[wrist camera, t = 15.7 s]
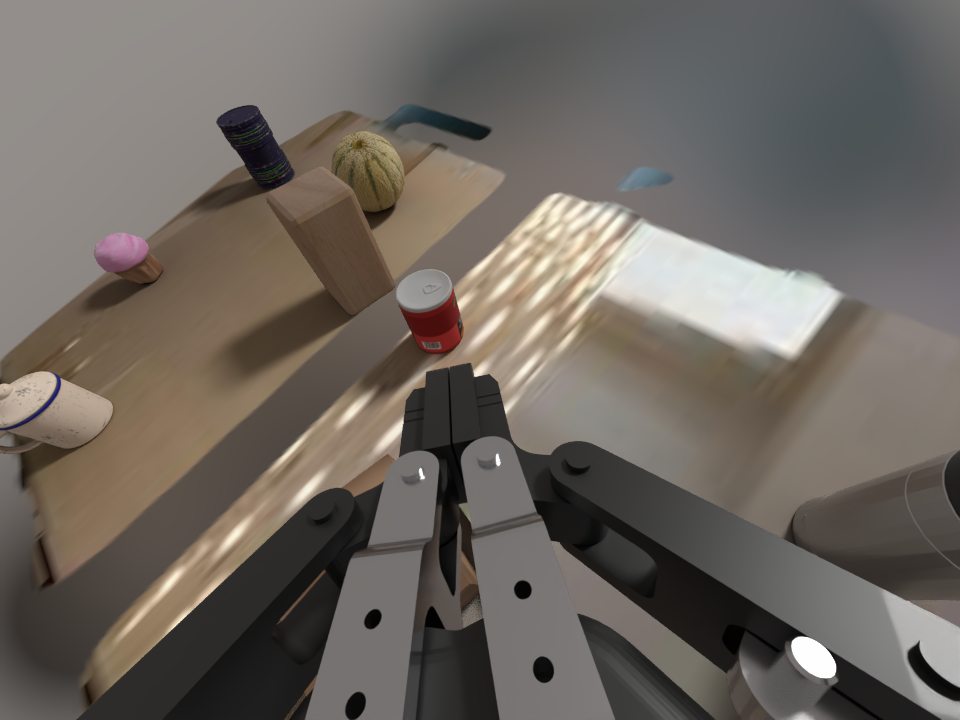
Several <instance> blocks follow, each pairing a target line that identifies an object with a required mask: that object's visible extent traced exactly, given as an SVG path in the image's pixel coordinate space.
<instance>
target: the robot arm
mask: <svg viewBox="0 0 960 720" xmlns="http://www.w3.org/2000/svg"><path fill="white" fill-rule="evenodd" d="M463 503H468V507H469V513H470V519H471V525H472V533H471V542H472V549H473V555H474V561H475V567H476V574H477V580H478V586H479V593H480V599H481V605H482V611H483V619H481V620H479V621H477V622H475V623H473V624H471V625H469V626H467V627H465V628H463V620H462V615H461V607H460V580H461V536H462V531H461V525H460V512H459V504H463ZM793 534H794V540H795V542H796V545H797V546H796V545H794V544H792V543H790V542H788V541H786V540H784V539H782V538H780V537H778V536H776V535H774V534H772V533H770V532H768V531H766V530H764V529H762V528H760V527H758V526H756V525H754V524H752V523H750V522H748V521H746V520H744V519H742V518H740V517H738V516H736V515H734V514H732V513H730V512H728V511H726V510H724V509H722V508H720V507H718V506H716V505H714V504H712V503H710V502H708V501H706V500H704V499H702V498H700V497H698V496H696V495H694V494H692V493H690V492H688V491H686V490H684V489H682V488H680V487H678V486H676V485H674V484H672V483H670V482H668V481H666V480H664V479H662V478H660V477H658V476H656V475H654V474H652V473H650V472H648V471H646V470H644V469H642V468H640V467H638V466H636V465H634V464H632V463H630V462H628V461H626V460H624V459H622V458H620V457H618V456H616V455H614V454H612V453H610V452H608V451H606V450H604V449H602V448H600V447H598V446H596V445H593V444H591V443H588V442H582V441H574V442H568V443H565V444H562V445H560V446H559V447H557V448H556V449H555V450H554V451H553V452H552V454H551V455H540V454H533V453H529V452H526V451H524V450H522V449H520V448H519V447H518V446H516V444H515V443H514V442H513V440H512V438H511V435H510V431H509V427H508V423H507V419H506V414H505V410H504V406H503V402H502V398H501V394H500V389H499V385H498V382H497V381H496V380H495V379H494V378H493V377H492V376H491V375H490V374H488V375H483V376H478V377H474V373H473V369H472V365H471V363H467V364H462V365H457V366H452V367H450V370H449V368H443V369H438V370H433V371H428V372H426V385H425V387H424V388H419V389H414V390H413V391H412V393H411V394H410V396H409V397H408V399H407V400H406V406H405V414H404V424H403V430H402V438H401V446H400V454H399V458H398V459H397V460H395V461H394V462H393V463H392V464H391V466H390V467H389V469H388V470H387V473H386V476H385V480H384V481H383V482H382V483H381V484H379V485H377V486H376V487H374V488H372V489H370V490H367V491H365V492H363V493H361V494H359V495H357V496H355V497H354V496H353V495H352V493H351V492H350V491H348V490H346V489H343V488H333V489H329V490H326V491H324V492H321V493H320V494H318V495H316V496H315V497H313V498H312V499H311V500H310V501H308V502H307V503H306V504H305V505H304V506H303V507H302V508H301V509H300V510H299V511H298V512H297V513H296V514H295V515H294V516H292V517H291V518H290V519H289V520H288V521H287V522H286V523H285V524H284V525H283V526H282V527H281V528H280V529H279V530H278V531H277V532H275V533H274V534H273V535H272V536H271V537H270V538H269V539H268V540H267V541H266V542H265V543H264V544H263V545H262V546H261V547H259V548H258V549H257V550H256V551H255V552H254V553H253V554H252V555H251V556H250V557H249V558H248V559H247V560H246V561H245V562H244V563H242V564H241V565H240V566H239V567H238V568H237V569H236V570H235V571H234V572H233V573H232V574H231V575H230V576H229V577H228V578H227V579H225V580H224V581H223V582H222V583H221V584H220V585H219V586H218V587H217V588H216V589H215V590H214V591H213V592H212V593H211V594H210V595H208V596H207V597H206V598H205V599H204V600H203V601H202V602H201V603H200V604H199V605H198V606H197V607H196V608H195V609H194V610H193V611H191V612H190V613H189V614H188V615H187V616H186V617H185V618H184V619H183V620H182V621H181V622H180V623H179V624H178V625H177V626H176V627H174V628H173V629H172V630H171V631H170V632H169V633H168V634H167V635H166V636H165V637H164V638H163V639H162V640H161V641H160V642H159V643H157V644H156V645H155V646H154V647H153V648H152V649H151V650H150V651H149V652H148V653H147V654H146V655H145V656H144V657H143V658H142V659H140V660H139V661H138V662H137V663H136V664H135V665H134V666H133V667H132V668H131V669H130V670H129V671H128V672H127V673H126V674H124V675H123V676H122V677H121V678H120V679H119V680H118V681H117V682H116V683H115V684H114V685H113V686H112V687H111V688H110V689H109V690H107V691H106V692H105V693H104V694H103V695H102V696H101V697H100V698H99V699H98V700H97V701H96V702H95V703H94V704H93V705H92V706H90V707H89V708H88V709H87V710H86V711H85V712H84V713H83V714H82V715H81V716H80V717H79V718H78V719H77V720H284V718H285V717H286V716H287V714H288V713H289V712H290V710H291V709H292V708H293V706H294V705H295V704H296V702H297V701H298V700H299V698H300V697H301V696H302V694H303V693H304V692H305V690H306V689H307V688H308V686H309V685H310V684H311V682H312V681H313V680H314V678H315V677H316V675H317V674H318V675H317V679H316V682H315V686H314V688H313V689H312V690H311V692H310V693H309V694H308V695H307V696H306V697H305V699H304V700H303V701H302V703H301V704H300V705H299V707H298V708H297V710H296V711H295V712H294V714H293V715H292V717H291V718H290V720H715V719H714V718H713V717H712V716H711V715H710V714H709V713H708V712H706V711H705V710H704V709H703V708H702V707H701V706H700V705H699V704H698V703H696V702H695V701H694V700H693V699H692V698H691V697H690V696H689V695H688V694H686V693H685V692H684V691H683V690H682V689H681V688H680V687H679V686H678V685H676V684H675V683H674V682H673V681H672V680H671V679H670V678H669V677H668V676H666V675H665V674H664V673H663V672H662V671H661V670H660V669H659V668H658V667H656V666H655V665H654V664H653V663H652V662H651V661H650V660H649V659H648V658H647V657H645V656H644V655H643V654H642V653H641V652H640V651H639V650H638V649H637V648H635V647H634V646H633V645H632V644H631V643H630V642H629V641H627V640H626V639H625V638H624V637H623V636H621V635H620V634H618V633H617V632H615V631H614V630H613V629H611V628H610V627H608V626H606V625H604V624H602V623H601V622H599V621H597V620H594V619H592V618H590V617H587V616H585V615H581V614H577V612H576V610H575V607H574V604H573V601H572V598H571V596H570V593H569V590H568V587H567V585H566V582H565V579H564V576H563V573H562V571H561V568H560V565H559V562H558V560H557V557H556V554H555V551H554V549H553V546H552V543H551V541H557V542H560V544H561V545H562V547H563V548H564V549H565V550H566V551H568V552H569V553H570V554H571V555H573V556H574V557H575V558H577V559H578V560H579V561H581V562H582V563H583V564H584V565H586V566H587V567H588V568H590V569H591V570H592V571H594V572H595V573H596V574H598V575H599V576H600V577H601V578H603V579H604V580H605V581H607V582H608V583H609V584H611V585H612V586H613V587H614V588H616V589H617V590H618V591H620V592H621V593H622V594H624V595H625V596H626V597H628V598H629V599H630V600H631V601H633V602H634V603H635V604H637V605H638V606H639V607H641V608H642V609H643V610H645V611H646V612H647V613H648V614H650V615H651V616H652V617H654V618H655V619H656V620H658V621H659V622H660V623H661V624H663V625H664V626H665V627H667V628H668V629H669V630H671V631H672V632H673V633H675V634H676V635H677V636H678V637H680V638H681V639H682V640H684V641H685V642H686V643H688V644H689V645H690V646H691V647H693V648H694V649H695V650H697V651H698V652H699V653H701V654H702V655H703V656H705V657H706V658H707V659H708V660H710V661H711V662H712V663H714V664H715V665H716V666H718V667H719V668H720V669H721V670H723V671H724V672H725V673H727V685H728V691H729V695H730V698H731V700H732V703H733V705H734V707H735V709H736V711H737V713H738V715H739V717H740V718H741V720H960V628H959V627H957V626H955V625H954V624H952V623H950V622H948V621H946V620H944V619H942V618H940V617H938V616H936V615H934V614H932V613H930V612H928V611H926V610H924V609H922V608H920V607H918V606H916V605H914V604H912V603H910V602H908V601H906V600H945V601H960V449H959V450H956V451H953V452H951V453H948V454H945V455H942V456H939V457H936V458H933V459H930V460H927V461H925V462H922V463H919V464H916V465H913V466H910V467H907V468H904V469H902V470H899V471H896V472H893V473H890V474H887V475H884V476H881V477H878V478H875V479H872V480H869V481H866V482H864V483H861V484H858V485H855V486H852V487H849V488H846V489H843V490H840V491H837V492H834V493H831V494H828V495H825V496H823V497H820V498H817V499H814V500H811V501H808V502H806V503H805V504H803V505H802V506H801V507H800V508H799V509H798V510H797V512H796V513H795V516H794V519H793ZM323 570H325V571H326V572H325V573H324V574H323V575H322V576H321V577H320V579H319V580H318V581H317V582H316V583H315V584H314V585H313V586H312V588H311V589H310V590H309V591H308V592H307V593H306V594H305V596H304V597H303V598H302V599H301V600H300V601H299V602H298V604H297V605H296V606H295V607H294V608H293V609H292V610H291V611H290V613H289V614H288V615H287V616H286V617H285V618H284V619H283V620H282V621H281V622H280V623H279V624H278V625H276V624H277V623H278V621H279V620H280V619H281V618H282V616H283V615H284V614H285V613H286V612H287V611H288V610H289V609H290V607H291V606H292V605H293V604H294V603H295V602H296V601H297V600H298V598H299V597H300V596H301V595H302V594H303V593H304V592H305V591H306V589H307V588H308V587H309V586H310V585H311V584H312V583H313V582H314V580H315V579H316V578H317V577H318V576H319V575H320V574H321V573H322V571H323Z"/></svg>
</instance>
